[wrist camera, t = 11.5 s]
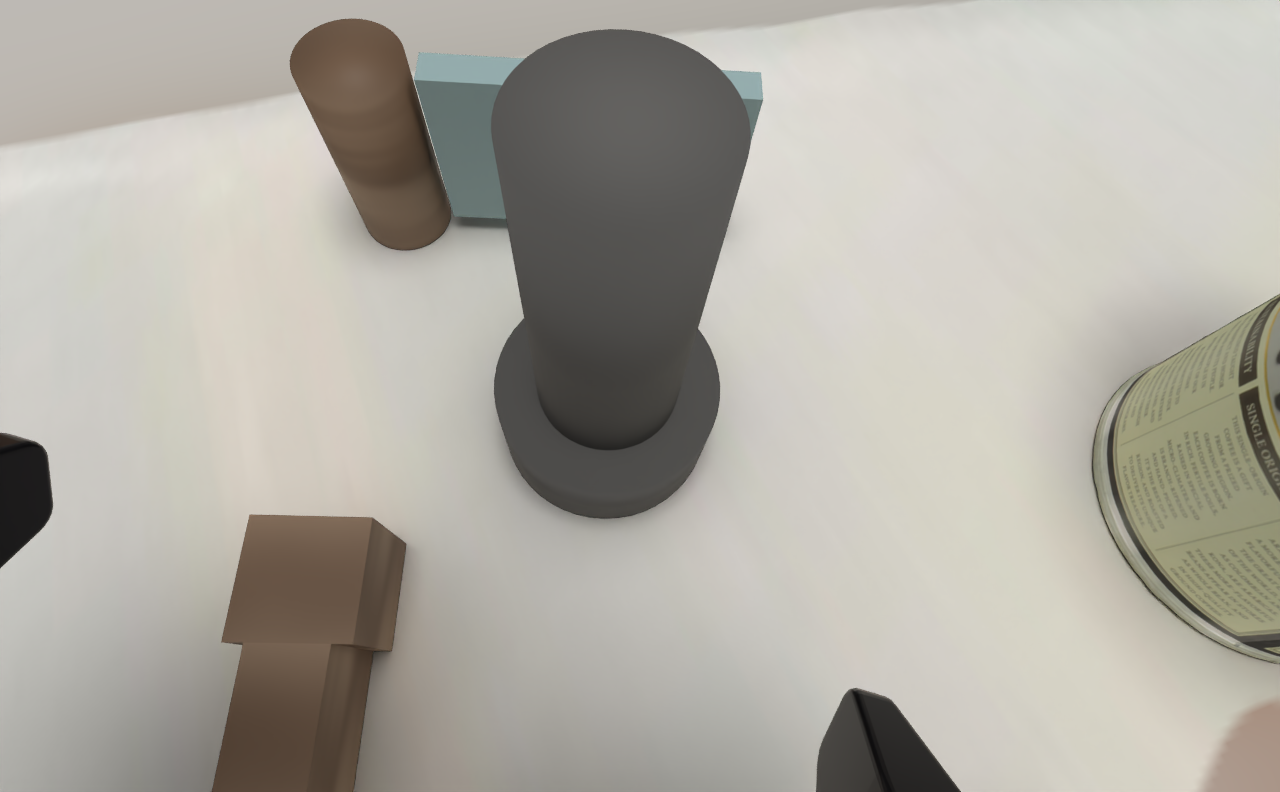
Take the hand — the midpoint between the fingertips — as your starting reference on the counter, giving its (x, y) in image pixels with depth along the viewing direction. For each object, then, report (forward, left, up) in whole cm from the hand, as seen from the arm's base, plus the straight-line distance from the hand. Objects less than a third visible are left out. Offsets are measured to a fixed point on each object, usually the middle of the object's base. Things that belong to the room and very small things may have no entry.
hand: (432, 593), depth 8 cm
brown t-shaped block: (+4, +7, -14) cm, 16 cm away
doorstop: (+7, +1, -14) cm, 15 cm away
